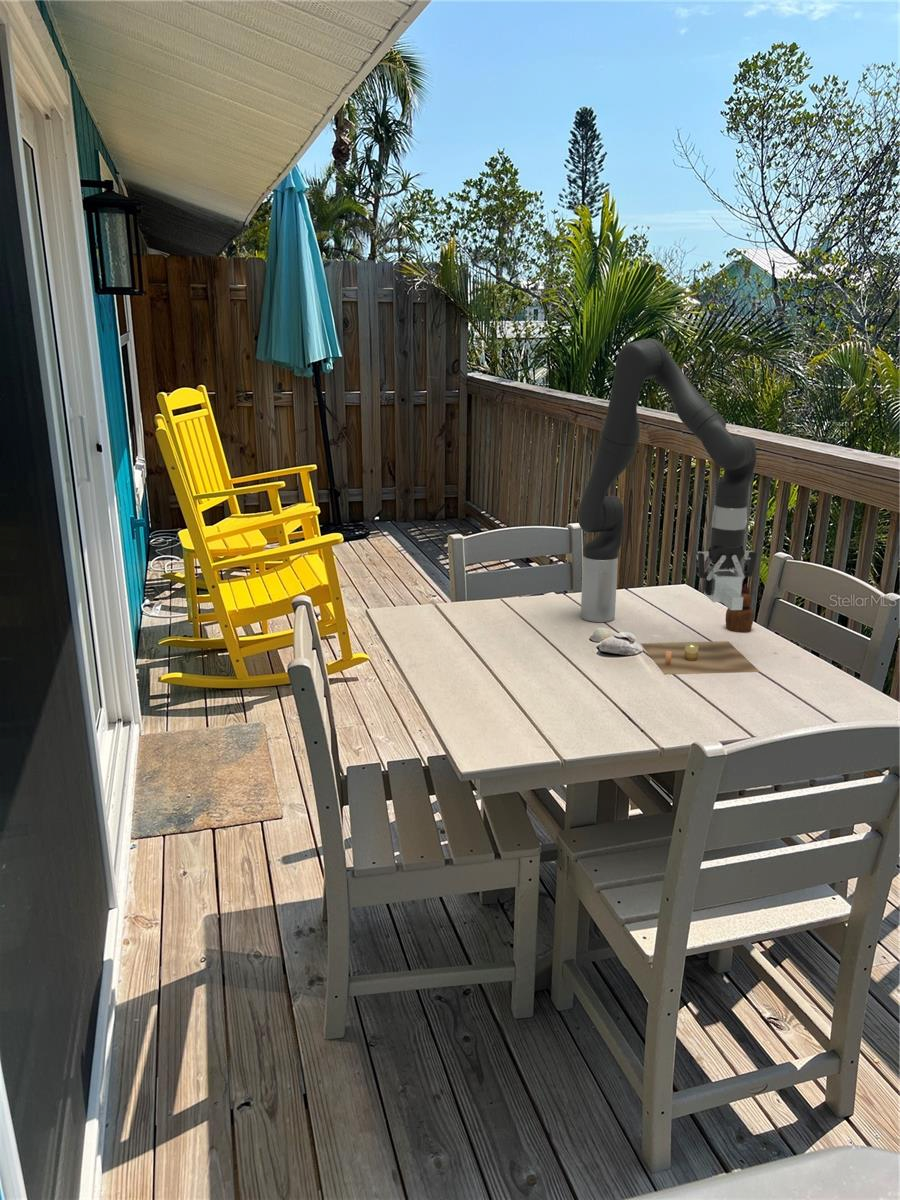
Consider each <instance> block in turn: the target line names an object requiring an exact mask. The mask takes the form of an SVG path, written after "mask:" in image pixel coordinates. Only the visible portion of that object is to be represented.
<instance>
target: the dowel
mask: <svg viewBox="0 0 900 1200" xmlns="http://www.w3.org/2000/svg"><path fill="white" fill-rule="evenodd" d="M671 653H672V652H671V651H666V661H665V664H666V665H671Z"/></svg>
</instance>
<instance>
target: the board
mask: <svg viewBox="0 0 900 1200" xmlns="http://www.w3.org/2000/svg"><path fill="white" fill-rule="evenodd" d="M690 642H691V643H697V644H698V645H699V647H698V659H697V660H696V661H688V660H685V659H684V655H685V644H686V643H690ZM640 646H641V647H642V648H643V649H644V650H645V652H646V653H647V654H648V655H649V657H650V658H651V660H652V661H653V662H654V663H655V664H656V666H657V668H658V669H660V671H661V672H662V673H663V675H664V676H665V675H693V674H694V675H695V674H702V675H703V674H729V673H731V674H732V673H734V674H735V673H761V671H760V670H759V669H758V668H757V667H756V666H755V665H754V664H753V663H751V662H750V660H749V659H747V658H746V657H745V655H743V654H742V653H741V652H740V651H739V650H738V649H737V648H736V647H735V646H734V645H733V644H732V643H730V641H729V640H728V641H727V640H726V641H725V640H723V641H689V642H687V641H686V642H685V641H684V642H682V641H681V642H649V643H647V642H646V643H642V642H641V643H640ZM666 651H671V652H672V653H671V665H666V664H665V661H666Z"/></svg>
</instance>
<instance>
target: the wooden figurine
mask: <svg viewBox="0 0 900 1200" xmlns="http://www.w3.org/2000/svg"><path fill="white" fill-rule="evenodd" d="M741 596H742V597H743V606H742V610H730V609H729V608H728V607H727V609H726V612H725V627H726V629H727V630H728V631H729V632H734V633H749V632H750V631H751V630H752V626H753V623H754V617H755V613H754V610H753V609H752V607H750V606H751V605H752V601H753V600H752V595H751V593H750V587H749V586H747V583H744V584H743V590H742V592H741Z"/></svg>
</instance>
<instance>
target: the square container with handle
mask: <svg viewBox="0 0 900 1200" xmlns="http://www.w3.org/2000/svg"><path fill="white" fill-rule="evenodd" d="M711 580H712V587H711V595H706V594H705V592H704V591H703V595H704V596H705V597H707V598H708V599H709V600H710V601H711V602H713V603H722V604H723V605H724V606H726V607H727V609H728V608H729V609H730V610H742V606H743V597H742V596H741V590H742V581H743V582H744V580H743V577H742V576H741V575H738V574H737V572H734V570H733V569H718V571H717V572H716V573H715V574H714V575H713V577H712V579H711Z"/></svg>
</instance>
